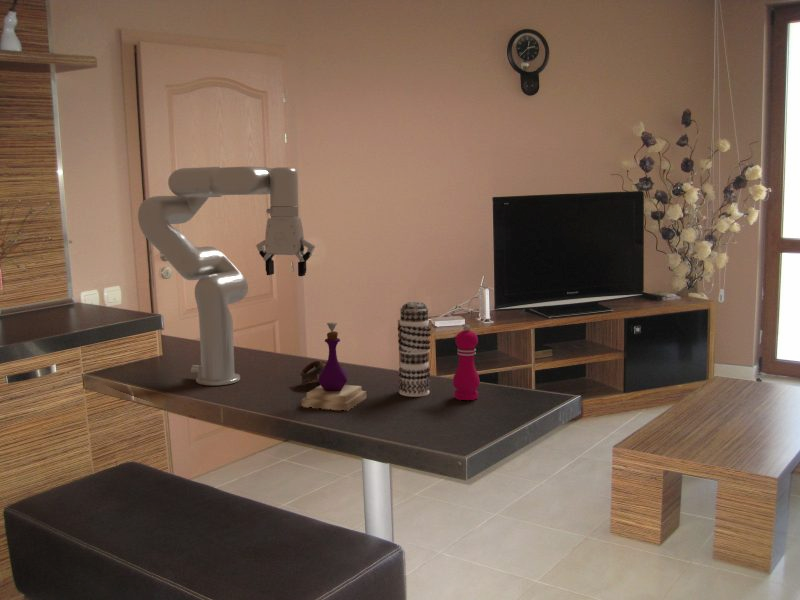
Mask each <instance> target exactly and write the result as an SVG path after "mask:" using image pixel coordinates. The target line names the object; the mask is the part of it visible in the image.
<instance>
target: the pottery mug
mask: <svg viewBox="0 0 800 600" xmlns="http://www.w3.org/2000/svg"><path fill="white" fill-rule="evenodd" d="M326 363H327V361H324V360H320V359H318V360H315V361H311V362H310V363H308V364H307V365H305V367H303V369H301V372H300V376H301V384H302V385H303V386H306V384H308V383H310V382H313V381H316V382H318V379H319V374H320V372H321V371H322V370H323V368H324V366H325V365H326ZM312 369H313V370H312ZM310 370H311V371H310Z"/></svg>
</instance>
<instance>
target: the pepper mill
mask: <svg viewBox="0 0 800 600" xmlns="http://www.w3.org/2000/svg"><path fill="white" fill-rule="evenodd" d="M462 329H463V330H461V331H459V332H458V333H457V334H456V336H455V344H456V346H457V349H456V351H457V353H456V354H457V355H458V365H457V368H456V370H455V372H454V374H453V378H452V385H453V387H454V389H456V390H455V391H454V399H455V398H456V399H455V400H457V399H458V401H461V400H468V401H467V402H470V401H469V400H473V401H476V400H478V398H479V392H478V391H477V389H478V388H479V387H480V385H481V382H480V377H479V373H478V371H477V369H476V364H475V355H476V354H477V352H476V351H477V349H476V347H477V345H478V343H479V339H478V335H477V334H476V333H475V332H474V331H472V330H470V329H471V327H470V325H468V324H465V325H464V326H463V328H462ZM475 399H476V400H475Z"/></svg>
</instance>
